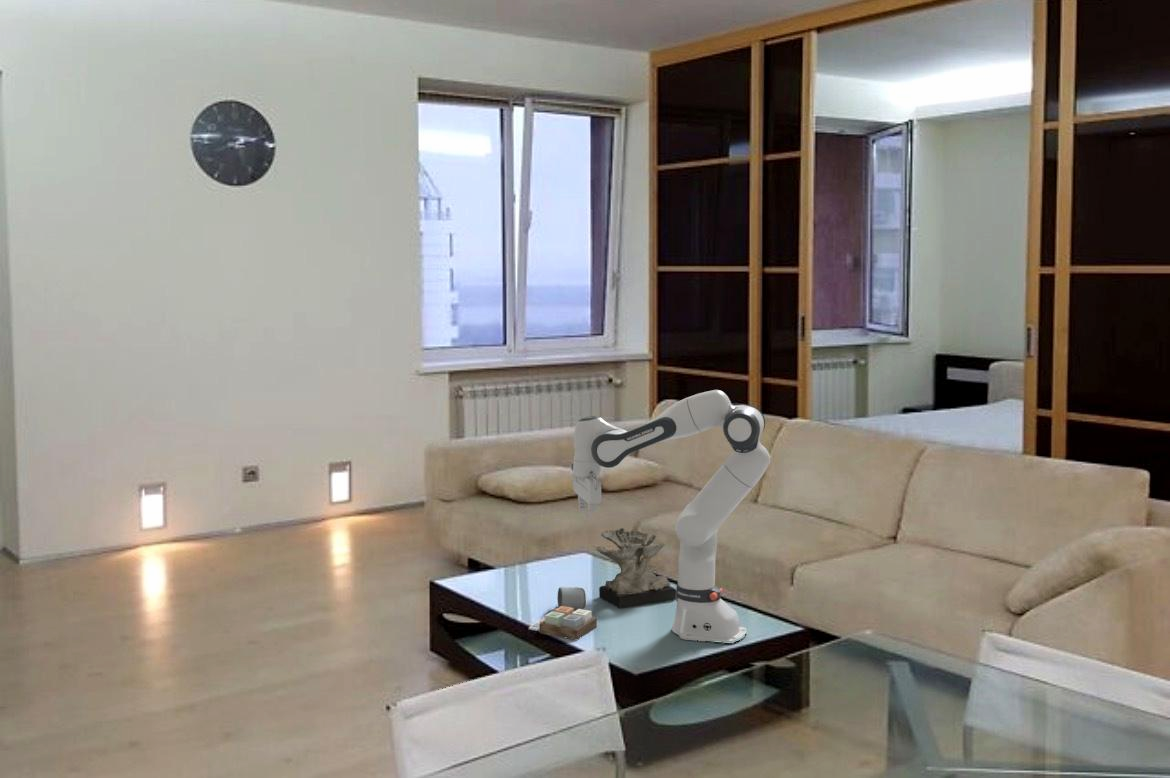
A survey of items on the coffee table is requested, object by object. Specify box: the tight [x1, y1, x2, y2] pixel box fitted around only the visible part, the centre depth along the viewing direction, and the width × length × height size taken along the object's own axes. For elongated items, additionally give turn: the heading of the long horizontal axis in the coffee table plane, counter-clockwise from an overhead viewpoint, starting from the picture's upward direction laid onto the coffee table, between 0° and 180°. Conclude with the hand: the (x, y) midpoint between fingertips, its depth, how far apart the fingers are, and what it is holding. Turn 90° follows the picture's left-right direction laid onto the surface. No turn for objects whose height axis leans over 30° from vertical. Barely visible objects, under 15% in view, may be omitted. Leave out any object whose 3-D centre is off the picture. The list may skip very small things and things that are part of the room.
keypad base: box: [538, 616, 598, 640], centre depth 350 cm, size 13×13×3 cm
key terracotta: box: [554, 606, 574, 617], centre depth 354 cm, size 4×4×4 cm
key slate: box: [563, 614, 582, 629], centre depth 346 cm, size 4×4×4 cm
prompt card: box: [528, 617, 545, 632], centre depth 354 cm, size 3×10×1 cm, turn 153°
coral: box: [595, 527, 676, 609], centre depth 382 cm, size 25×20×22 cm
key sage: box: [544, 610, 565, 626], centre depth 348 cm, size 4×4×4 cm
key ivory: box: [572, 609, 593, 623], centre depth 351 cm, size 4×4×4 cm
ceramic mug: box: [556, 586, 587, 611], centre depth 370 cm, size 11×8×8 cm
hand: (586, 512), depth 356 cm, fingers open, 8 cm apart
